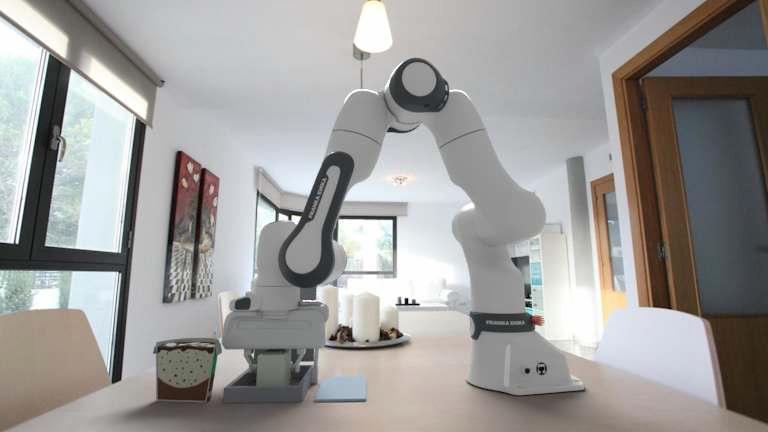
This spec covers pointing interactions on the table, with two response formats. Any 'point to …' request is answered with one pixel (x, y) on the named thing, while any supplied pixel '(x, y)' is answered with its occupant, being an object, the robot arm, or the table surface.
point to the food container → (186, 369)
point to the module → (274, 367)
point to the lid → (307, 295)
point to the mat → (342, 389)
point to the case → (271, 387)
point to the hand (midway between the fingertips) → (274, 372)
